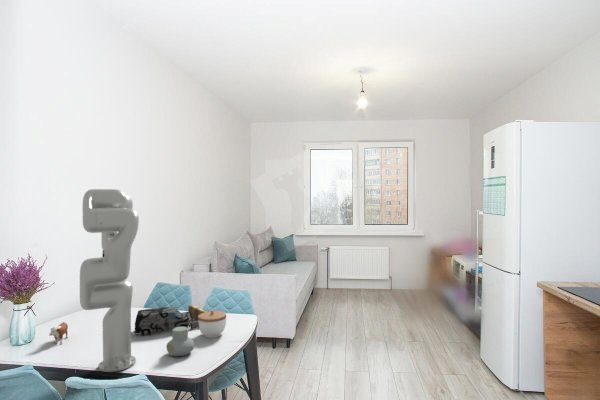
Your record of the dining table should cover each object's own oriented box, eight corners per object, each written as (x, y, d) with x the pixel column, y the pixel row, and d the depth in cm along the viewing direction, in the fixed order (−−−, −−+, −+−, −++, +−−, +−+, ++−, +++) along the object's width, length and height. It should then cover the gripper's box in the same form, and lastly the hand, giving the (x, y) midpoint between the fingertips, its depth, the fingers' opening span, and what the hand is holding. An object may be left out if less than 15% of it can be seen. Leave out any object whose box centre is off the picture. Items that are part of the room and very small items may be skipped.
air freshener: (164, 352, 154) (164, 328, 154) (183, 347, 160) (183, 323, 160) (177, 360, 146) (176, 334, 146) (196, 354, 152) (196, 329, 152)
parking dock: (209, 325, 187) (209, 312, 187) (192, 329, 181) (191, 316, 181) (192, 316, 202) (191, 304, 201) (175, 320, 196) (175, 307, 196)
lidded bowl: (212, 328, 182) (211, 305, 182) (232, 332, 176) (232, 309, 176) (192, 336, 171) (191, 312, 171) (212, 342, 165) (212, 316, 165)
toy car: (191, 331, 180) (190, 309, 180) (133, 337, 172) (133, 315, 172) (190, 323, 190) (189, 303, 190) (136, 330, 182) (135, 309, 182)
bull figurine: (47, 348, 160) (46, 329, 160) (60, 337, 173) (60, 319, 173) (58, 347, 161) (58, 328, 161) (71, 336, 174) (71, 318, 174)
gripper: (123, 225, 169) (123, 264, 169) (112, 224, 182) (113, 259, 182) (104, 226, 164) (105, 266, 164) (95, 224, 177) (95, 261, 177)
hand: (109, 263), depth 173 cm, fingers open, 9 cm apart
